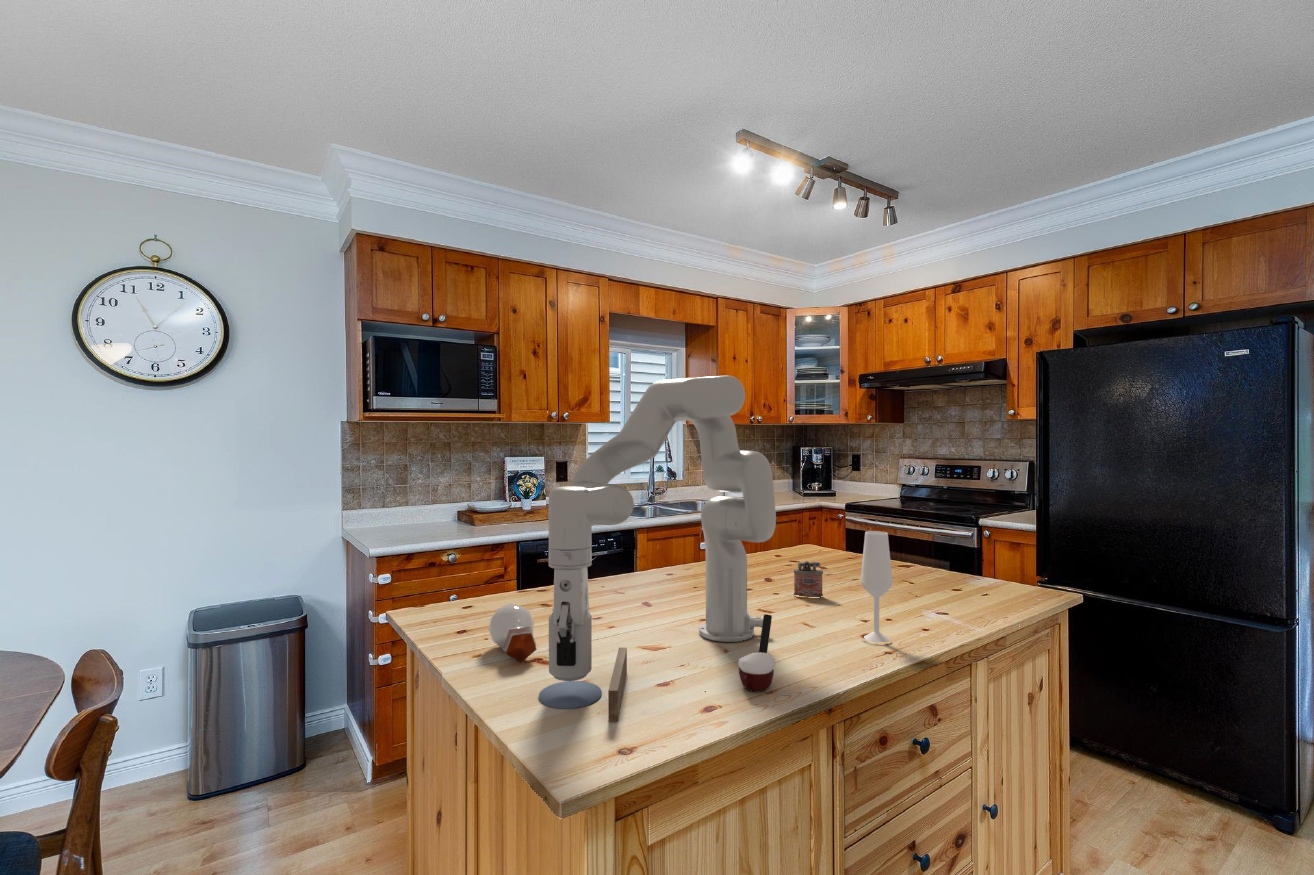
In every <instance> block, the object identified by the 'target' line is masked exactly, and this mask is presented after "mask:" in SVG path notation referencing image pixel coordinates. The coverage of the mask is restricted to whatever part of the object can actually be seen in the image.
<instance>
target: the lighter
mask: <svg viewBox="0 0 1314 875" xmlns="http://www.w3.org/2000/svg"><path fill="white" fill-rule="evenodd" d="M797 566H798V568H794V569H793V574H794V575H793V576H794V578H793V579H794V580H793V581H794V584H793V588H794V592H793V596H794V595H799V596H810V597H821V596H823V597H824V594H823V574H824V570H822V569H817V568H821V562H820V561H811V562H810V561H809V560H805V561H804V562H803V561H797Z"/></svg>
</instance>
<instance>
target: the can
mask: <svg viewBox="0 0 1314 875" xmlns="http://www.w3.org/2000/svg"><path fill="white" fill-rule="evenodd" d="M587 609H588V607H586V609H585V611H586V613H585V618H584V624H583V625H582V626H578V625H575V635H574V642H576V664H575V666H558V665H557V635H558V626H556V625H555V623H554V606H553V608H551V610H552V613H551V614H550V615H549V616H548V673H549V674H550V675H551V676H552V677H553V678H554V679H555V680H558V681H560V682H566V681H581V680H582V679H585V678H586V677H587V675H588V674H589V673H590V672H591V671H592V665H593V664H592V658H593V657H592V655H593V654H592V649H593V648H592V646H593V644H592V643H593V642H592V639H593V638H592V635H593V634H592V632H593V630H592V628H593V627H592V624H593V622H592V616H593V615H592V614H591V613H590V611H589V612H588V611H587ZM569 611H570V610H569ZM557 622H559V619H557ZM568 623H572V619H568ZM557 625H558V624H557ZM567 630H569V631H570V635H571V628H568V629H567Z"/></svg>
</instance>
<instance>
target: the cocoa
mask: <svg viewBox="0 0 1314 875" xmlns="http://www.w3.org/2000/svg"><path fill="white" fill-rule="evenodd" d="M772 618H773V616H772V615H771V614H767V613H766V614H763V617H762V619H763V624H762V627H761V633H760V640H759V646H758V652H752V653H748V654H747V655H745V656H742V657H740V658H739V659H738V662H737V664H738V676H739V678H740V682H741V684H742V685H743V687H744V688H745V689H747V690H748V689H749V690H748V691H750V690H752V691H751V692H754V691H760V692H764V691H766V690H767V689H769V688H770V687H771V685H772V683H773V678H774V673H775V672H774V670H775V669H774V668H775V667H776V661H775V657H773V655H772V654H771V653H768V649H769V642H770V635H771V634H770V633H771V626H772Z"/></svg>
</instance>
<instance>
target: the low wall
mask: <svg viewBox="0 0 1314 875" xmlns="http://www.w3.org/2000/svg"><path fill="white" fill-rule="evenodd" d="M627 653H628V648H627V647H618V651H617V654H616V659H615V661H614V662H615V663H614V666H613V671H612V674H611V678H610V683H609V687H608V699H607V700H608V715H607V716H608V721H607V722H610V723H612V721H614V722H613V723H615V722H616V723H617V722H619V718H620V712H621V707H622V702H623V696H624V690H625V685H626V680H627V675H628V657H627V656H628V654H627Z"/></svg>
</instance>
